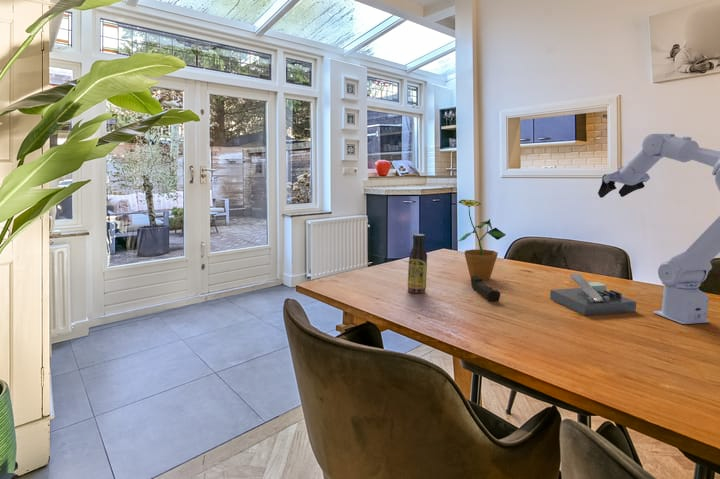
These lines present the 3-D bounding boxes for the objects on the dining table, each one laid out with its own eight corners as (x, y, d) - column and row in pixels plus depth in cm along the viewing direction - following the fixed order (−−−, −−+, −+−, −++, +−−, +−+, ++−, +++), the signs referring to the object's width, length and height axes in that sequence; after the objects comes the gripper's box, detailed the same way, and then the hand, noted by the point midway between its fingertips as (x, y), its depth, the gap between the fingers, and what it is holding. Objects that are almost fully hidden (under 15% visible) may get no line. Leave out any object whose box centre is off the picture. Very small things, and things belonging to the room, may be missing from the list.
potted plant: (454, 282, 153) (456, 201, 148) (458, 271, 170) (459, 198, 166) (506, 285, 147) (509, 201, 143) (503, 273, 165) (506, 198, 160)
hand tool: (500, 302, 129) (501, 288, 128) (487, 303, 129) (488, 288, 128) (479, 286, 148) (480, 274, 147) (468, 287, 147) (469, 274, 147)
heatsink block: (635, 311, 118) (636, 296, 117) (584, 315, 115) (585, 300, 115) (595, 295, 133) (596, 282, 133) (550, 299, 131) (550, 285, 130)
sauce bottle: (405, 292, 141) (404, 235, 138) (411, 288, 146) (411, 232, 143) (423, 295, 138) (423, 236, 134) (429, 290, 143) (429, 233, 140)
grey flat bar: (603, 302, 117) (604, 299, 117) (594, 303, 117) (595, 300, 117) (578, 275, 128) (579, 272, 127) (569, 275, 127) (570, 273, 127)
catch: (606, 291, 127) (606, 285, 127) (585, 292, 126) (585, 286, 126) (596, 288, 131) (597, 281, 131) (576, 289, 130) (577, 283, 130)
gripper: (652, 156, 127) (624, 184, 138) (610, 156, 125) (585, 186, 136) (664, 173, 123) (634, 201, 135) (621, 174, 121) (594, 203, 132)
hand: (610, 194), depth 135 cm, fingers open, 7 cm apart
